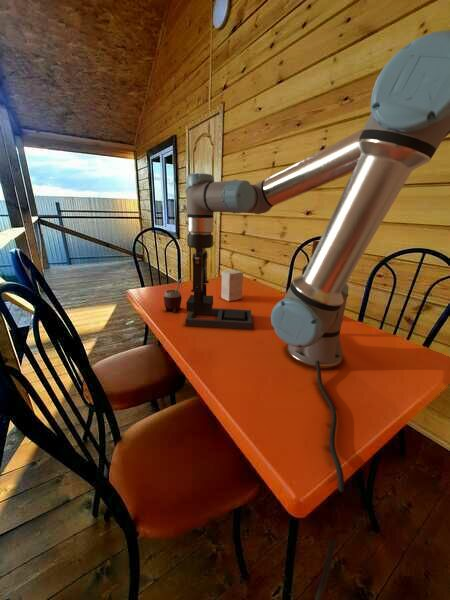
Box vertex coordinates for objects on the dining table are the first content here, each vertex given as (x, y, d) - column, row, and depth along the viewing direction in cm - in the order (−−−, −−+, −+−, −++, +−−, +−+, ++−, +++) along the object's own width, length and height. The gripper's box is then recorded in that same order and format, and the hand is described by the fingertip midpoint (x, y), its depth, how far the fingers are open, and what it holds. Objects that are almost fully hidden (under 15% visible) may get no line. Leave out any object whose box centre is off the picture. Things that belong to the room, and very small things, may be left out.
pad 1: (210, 312, 77) (211, 303, 76) (186, 311, 78) (186, 302, 77) (213, 304, 84) (213, 295, 83) (190, 303, 85) (190, 294, 84)
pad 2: (244, 325, 93) (244, 318, 92) (223, 324, 93) (224, 317, 92) (243, 317, 100) (244, 310, 99) (224, 316, 100) (225, 309, 99)
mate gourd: (162, 308, 106) (160, 273, 101) (180, 305, 110) (179, 271, 105) (167, 314, 100) (166, 277, 95) (186, 311, 104) (186, 275, 99)
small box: (233, 295, 126) (235, 269, 122) (242, 298, 122) (243, 272, 117) (220, 297, 122) (221, 271, 117) (228, 301, 117) (229, 274, 113)
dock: (251, 329, 90) (252, 323, 89) (185, 325, 91) (185, 319, 90) (250, 315, 102) (250, 310, 101) (191, 312, 103) (191, 306, 102)
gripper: (193, 230, 83) (193, 296, 91) (180, 235, 64) (182, 319, 71) (215, 231, 83) (214, 297, 90) (209, 236, 64) (208, 320, 71)
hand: (200, 307), depth 81 cm, fingers closed on pad 1, 7 cm apart
